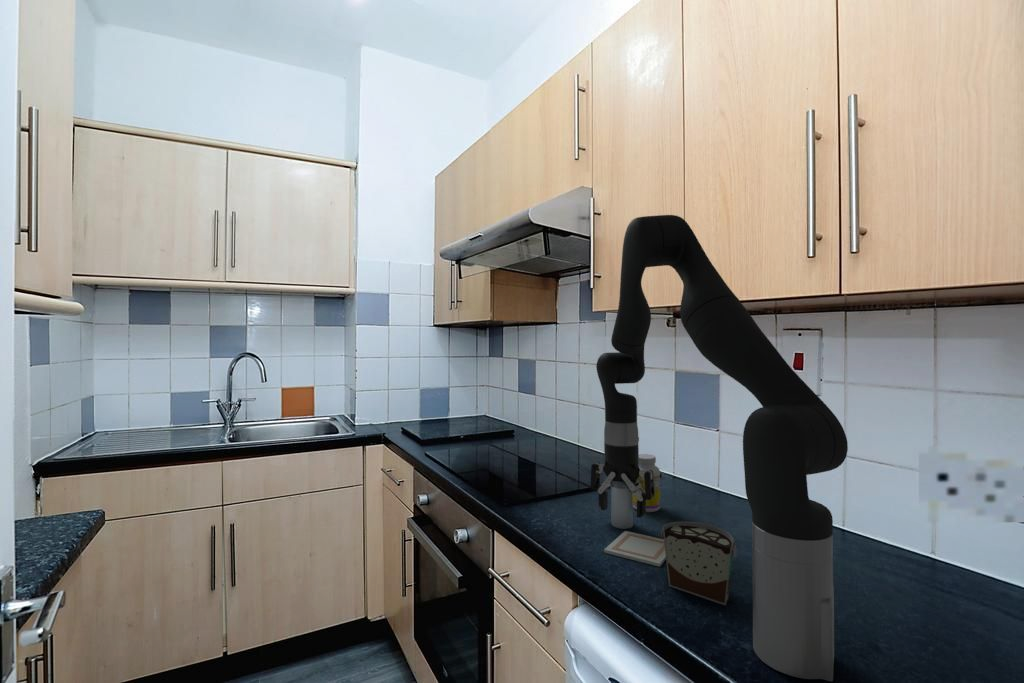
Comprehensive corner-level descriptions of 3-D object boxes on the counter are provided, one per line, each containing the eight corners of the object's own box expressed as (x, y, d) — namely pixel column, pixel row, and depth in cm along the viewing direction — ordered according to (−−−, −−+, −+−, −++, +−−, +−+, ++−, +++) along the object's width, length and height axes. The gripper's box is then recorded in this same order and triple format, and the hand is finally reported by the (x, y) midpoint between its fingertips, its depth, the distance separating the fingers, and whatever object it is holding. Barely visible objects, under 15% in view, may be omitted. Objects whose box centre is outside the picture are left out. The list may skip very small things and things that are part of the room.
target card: (677, 545, 100) (677, 541, 100) (659, 566, 91) (659, 563, 91) (625, 533, 106) (625, 530, 106) (604, 552, 97) (604, 549, 97)
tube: (636, 523, 112) (635, 479, 112) (628, 530, 108) (627, 484, 108) (616, 519, 114) (615, 476, 114) (607, 525, 110) (607, 481, 110)
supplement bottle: (626, 505, 123) (626, 454, 123) (649, 502, 125) (648, 451, 125) (642, 514, 117) (642, 460, 117) (666, 510, 119) (665, 457, 119)
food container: (748, 593, 81) (747, 532, 81) (735, 609, 76) (735, 544, 76) (675, 570, 89) (675, 515, 89) (660, 583, 85) (660, 525, 85)
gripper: (585, 440, 112) (585, 511, 112) (646, 448, 104) (647, 524, 104) (598, 434, 118) (599, 502, 118) (658, 441, 110) (658, 513, 110)
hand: (621, 512), depth 111 cm, fingers open, 8 cm apart
